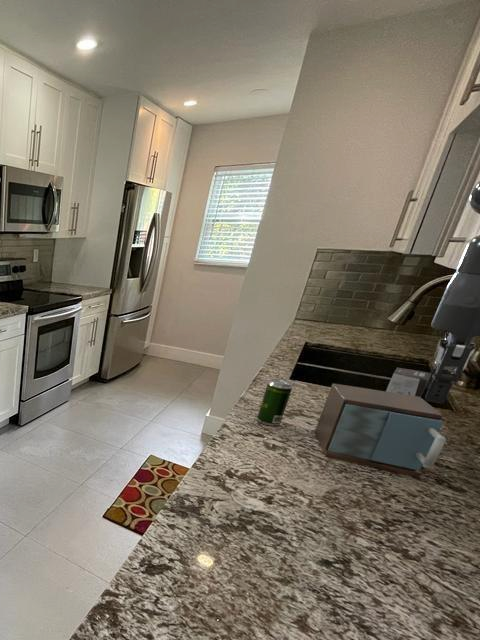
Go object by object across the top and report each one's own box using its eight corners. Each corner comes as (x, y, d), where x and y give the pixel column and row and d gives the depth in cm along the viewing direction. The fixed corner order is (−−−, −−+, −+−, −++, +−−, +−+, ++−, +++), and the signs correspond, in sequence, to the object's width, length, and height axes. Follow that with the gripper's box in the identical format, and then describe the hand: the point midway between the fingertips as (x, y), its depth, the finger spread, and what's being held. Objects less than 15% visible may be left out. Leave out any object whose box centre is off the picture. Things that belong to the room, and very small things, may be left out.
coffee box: (402, 438, 105) (429, 380, 100) (368, 429, 110) (392, 372, 104) (406, 428, 111) (432, 372, 105) (374, 420, 115) (397, 366, 110)
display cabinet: (396, 449, 100) (420, 396, 95) (418, 477, 89) (447, 419, 84) (314, 432, 107) (332, 383, 102) (325, 456, 96) (346, 402, 91)
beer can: (284, 425, 111) (298, 384, 107) (269, 427, 110) (282, 386, 105) (266, 417, 116) (279, 377, 111) (251, 418, 114) (263, 378, 110)
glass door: (418, 469, 89) (442, 420, 85) (430, 483, 84) (456, 432, 80) (369, 458, 93) (390, 411, 88) (378, 471, 88) (400, 422, 83)
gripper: (518, 312, 59) (467, 414, 65) (507, 300, 68) (463, 391, 74) (441, 304, 64) (401, 400, 70) (441, 295, 73) (405, 380, 79)
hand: (433, 395), depth 72 cm, fingers open, 8 cm apart
